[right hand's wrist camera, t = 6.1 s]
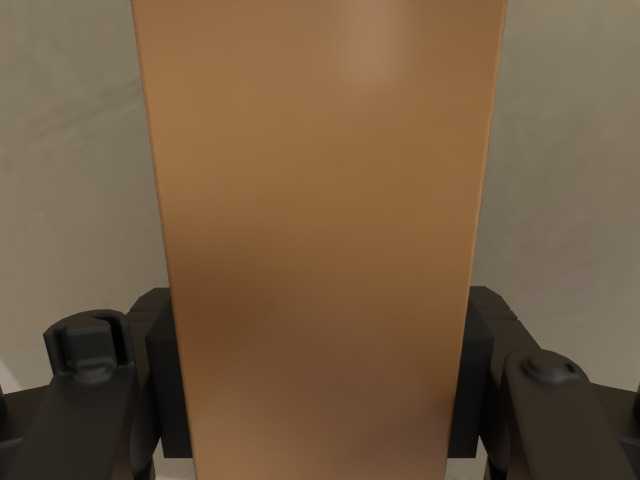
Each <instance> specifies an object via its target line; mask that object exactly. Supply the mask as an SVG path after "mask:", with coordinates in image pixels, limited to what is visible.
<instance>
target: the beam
mask: <svg viewBox="0 0 640 480" xmlns="http://www.w3.org/2000/svg"><path fill="white" fill-rule="evenodd" d="M507 1H508V0H131V6H132V13H133V20H134V28H135V35H136V42H137V50H138V57H139V65H140V72H141V79H142V87H143V94H144V101H145V109H146V116H147V123H148V131H149V138H150V146H151V153H152V160H153V168H154V175H155V182H156V190H157V197H158V205H159V212H160V219H161V227H162V234H163V241H164V249H165V256H166V263H167V271H168V278H169V286H170V293H171V300H172V308H173V315H174V322H175V330H176V337H177V345H178V352H179V359H180V367H181V374H182V381H183V389H184V396H185V403H186V411H187V418H188V426H189V433H190V440H191V448H192V455H193V462H194V470H195V477H196V480H444V479H445V472H446V464H447V456H448V449H449V441H450V434H451V426H452V418H453V411H454V403H455V396H456V388H457V381H458V373H459V365H460V358H461V350H462V343H463V335H464V327H465V320H466V312H467V305H468V297H469V290H470V282H471V274H472V267H473V259H474V252H475V244H476V236H477V229H478V221H479V214H480V206H481V198H482V191H483V183H484V176H485V168H486V161H487V153H488V145H489V138H490V130H491V123H492V115H493V107H494V100H495V92H496V85H497V77H498V70H499V62H500V54H501V47H502V39H503V32H504V24H505V16H506V9H507Z"/></svg>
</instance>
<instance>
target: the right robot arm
mask: <svg viewBox="0 0 640 480" xmlns="http://www.w3.org/2000/svg"><path fill="white" fill-rule="evenodd" d="M43 337H44V340H45V344H46V348H47V352H48V356H49V360H50V364H51V368H52V371H53V375H54V376H53V378H52V380H51V382H50V384H49V385H46V386H42V387H38V388H33V389H28V390H23V391H18V392H13V393H8V394H3V392H2V389H1V386H0V480H155V477H156V475H155V468H154V462H153V453H154V451H155V449H156V446H157V444H158V441H159V439H160V437H161V441H162V448H163V454H164V458H193V455H192V448H191V440H190V433H189V426H188V418H187V411H186V403H185V396H184V389H183V381H182V374H181V367H180V359H179V352H178V345H177V337H176V330H175V322H174V315H173V308H172V300H171V293H170V288H154V289H152V290H151V291H149V292H148V293H146V294H144V295H143V296H141V297H140V298H138V300H137V301H136V302H135V304H134V305H133V306H132V308H131V309H130V312H128V313H127V314H126V315H124V314H123V313H122V312H119V311H114V310H110V309H108V310H91V311H86V312H81V313H77V314H74V315H72V316H69V317H66V318H64V319H62V320H60V321H58V322H57V323H55V324H53V325H52V326H50V327H49V328H48V329H47V331H46V332H45V333H44V334H43ZM479 435H480V438H481V440H482V442H483V445H484V447H485V449H486V452H487V454H488V456H487V462H486V468H485V473H484V479H483V480H640V384H639V387H638V390H637V392H632V391H627V390H622V389H617V388H612V387H607V386H602V385H598V384H594V383H590V382H589V379H588V377H587V375H586V374H585V373H584V372H583V370H582V369H581V368H580V367H579V366H578V365H577V364H575V363H574V362H573V361H571V360H570V359H568V358H567V357H564V356H562V355H560V354H557V353H555V352H552V351H548V350H544V349H541V348H540V347H539V345H538V344H537V343H536V341H535V340H534V339H533V338H532V336H531V335H530V334H529V332H528V331H527V330H526V328H525V327H524V326H523V325H522V323H521V322H520V321H519V320H517V317H516V315H515V314H514V313H513V311H512V310H510V308H509V306H508V305H507V304H506V302H505V301H504V300H503V298H502V297H501V296H499V295H498V294H496V293H495V292H493V291H491V290H490V289H488V288H487V287H485V286H470V290H469V297H468V305H467V312H466V320H465V327H464V335H463V343H462V350H461V358H460V365H459V373H458V381H457V388H456V396H455V403H454V411H453V418H452V426H451V434H450V441H449V449H448V456H447V458H475V457H476V451H477V445H478V439H479Z"/></svg>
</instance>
